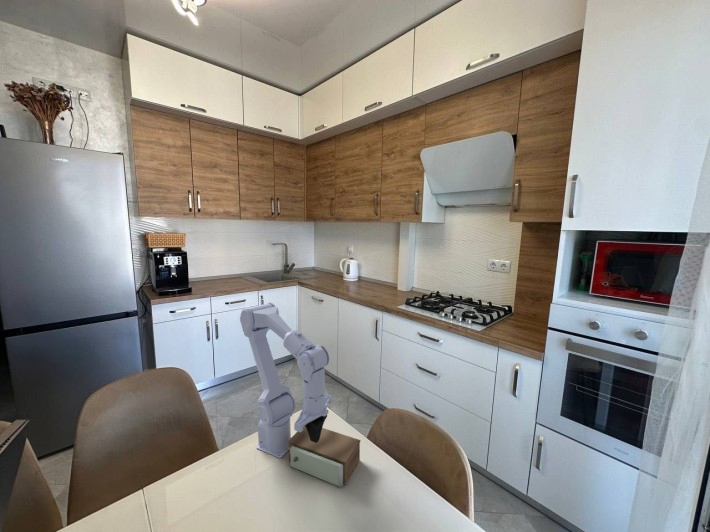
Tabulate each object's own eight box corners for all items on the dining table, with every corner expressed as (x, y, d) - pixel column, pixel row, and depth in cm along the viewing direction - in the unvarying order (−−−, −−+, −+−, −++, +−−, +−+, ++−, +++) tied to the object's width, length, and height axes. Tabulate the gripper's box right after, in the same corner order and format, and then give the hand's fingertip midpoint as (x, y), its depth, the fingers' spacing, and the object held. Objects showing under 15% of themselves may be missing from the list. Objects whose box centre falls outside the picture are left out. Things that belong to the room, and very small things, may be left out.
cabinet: (288, 461, 84) (288, 441, 83) (306, 441, 92) (306, 422, 91) (346, 485, 76) (345, 462, 75) (360, 460, 84) (360, 440, 83)
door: (343, 484, 76) (343, 464, 75) (340, 490, 74) (340, 470, 73) (293, 463, 82) (292, 445, 82) (288, 468, 81) (288, 450, 80)
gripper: (310, 411, 69) (311, 464, 71) (340, 383, 82) (340, 428, 84) (287, 403, 72) (288, 454, 74) (319, 378, 85) (320, 421, 87)
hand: (314, 440), depth 79 cm, fingers closed
